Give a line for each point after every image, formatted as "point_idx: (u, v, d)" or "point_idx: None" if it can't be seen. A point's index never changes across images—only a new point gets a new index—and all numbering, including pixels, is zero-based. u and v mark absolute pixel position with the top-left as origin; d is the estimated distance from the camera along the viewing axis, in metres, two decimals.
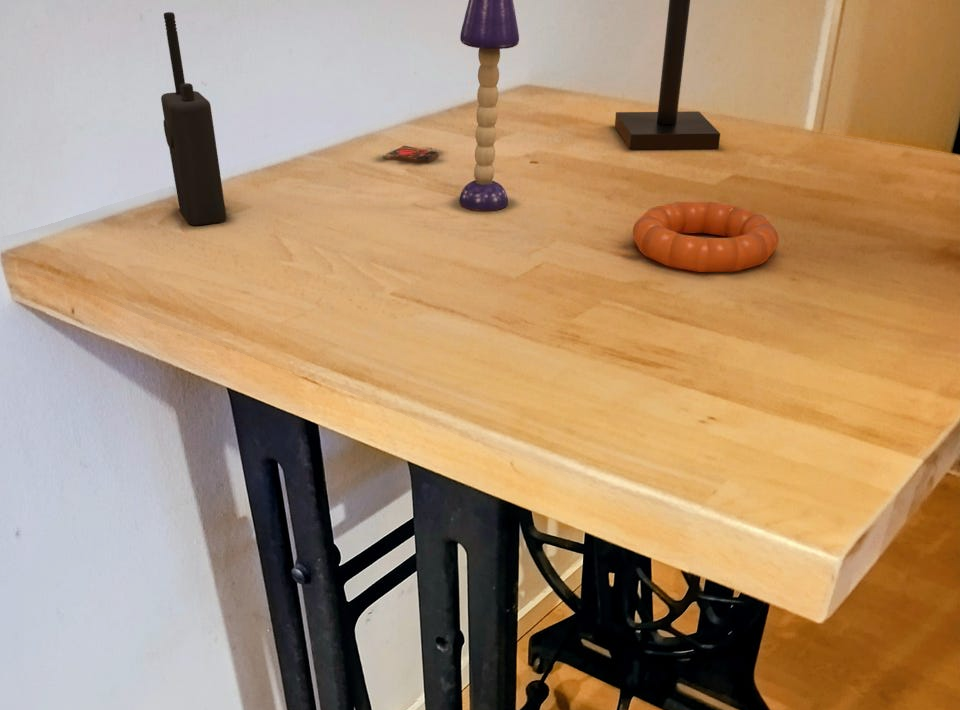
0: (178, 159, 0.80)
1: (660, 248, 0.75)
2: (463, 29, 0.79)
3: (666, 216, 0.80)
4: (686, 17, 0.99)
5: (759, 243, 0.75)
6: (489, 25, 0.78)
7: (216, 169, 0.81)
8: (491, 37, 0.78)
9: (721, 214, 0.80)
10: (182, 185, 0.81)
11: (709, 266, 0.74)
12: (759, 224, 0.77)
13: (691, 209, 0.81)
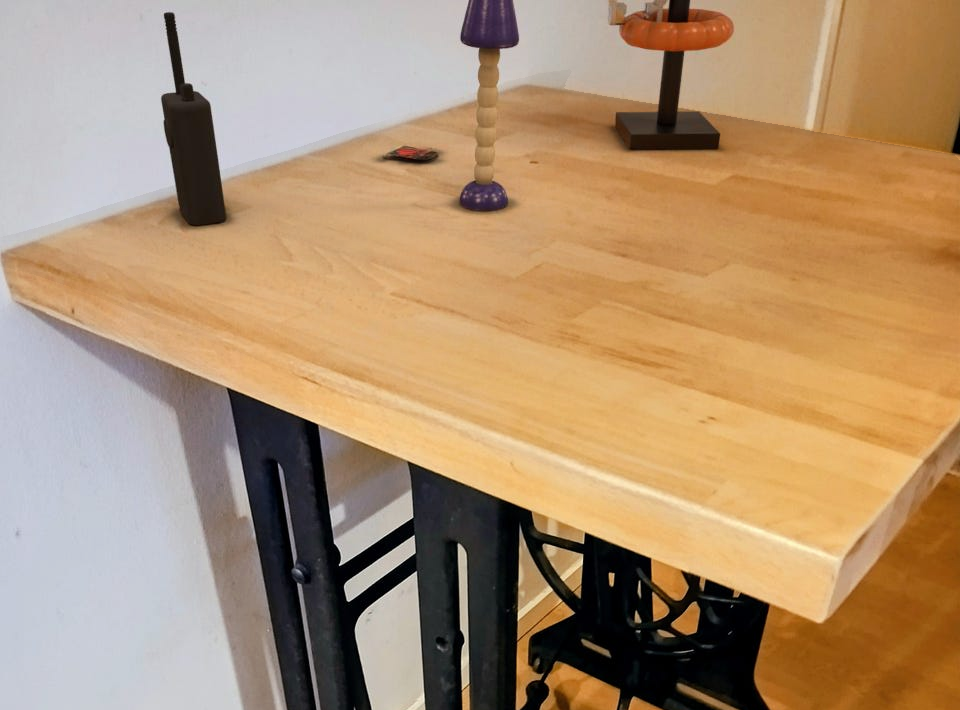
0: (178, 159, 0.80)
1: (640, 33, 0.97)
2: (463, 29, 0.79)
3: None
4: (686, 17, 0.99)
5: (717, 26, 0.96)
6: (489, 25, 0.78)
7: (216, 169, 0.81)
8: (491, 37, 0.78)
9: (689, 15, 1.02)
10: (182, 185, 0.81)
11: (678, 44, 0.96)
12: (718, 16, 0.98)
13: (665, 13, 1.02)
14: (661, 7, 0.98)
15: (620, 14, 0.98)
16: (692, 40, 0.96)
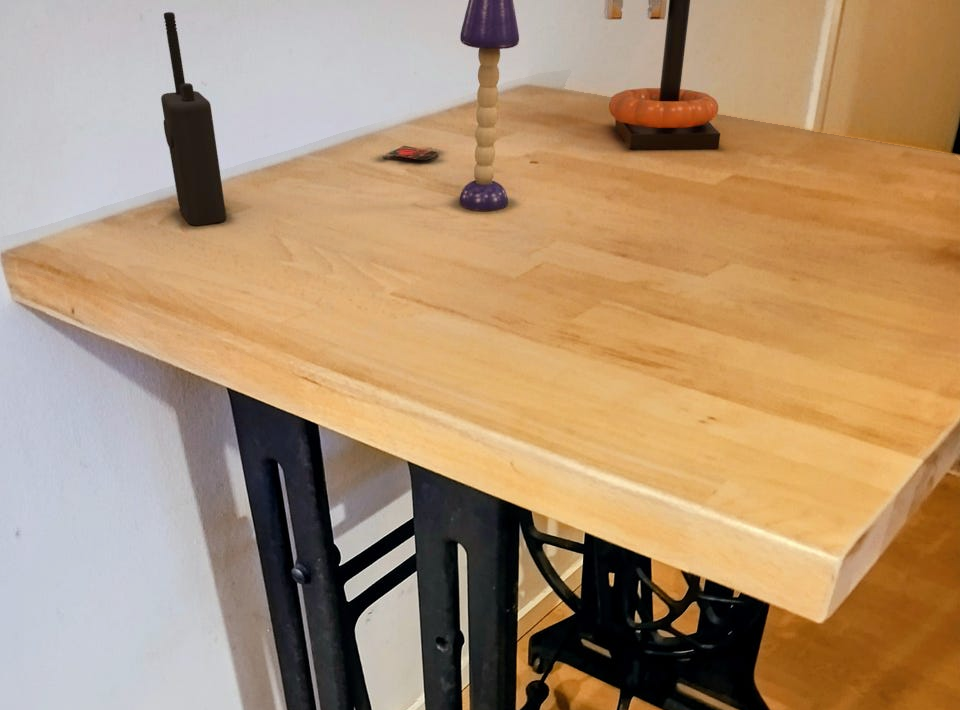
0: (178, 159, 0.80)
1: (628, 110, 1.01)
2: (463, 29, 0.79)
3: (634, 95, 1.05)
4: (686, 17, 0.99)
5: (702, 105, 1.00)
6: (489, 25, 0.78)
7: (216, 169, 0.81)
8: (491, 37, 0.78)
9: None
10: (182, 185, 0.81)
11: (664, 121, 1.00)
12: (703, 96, 1.03)
13: (653, 92, 1.06)
14: (665, 1, 0.98)
15: (617, 8, 0.98)
16: (678, 118, 1.00)
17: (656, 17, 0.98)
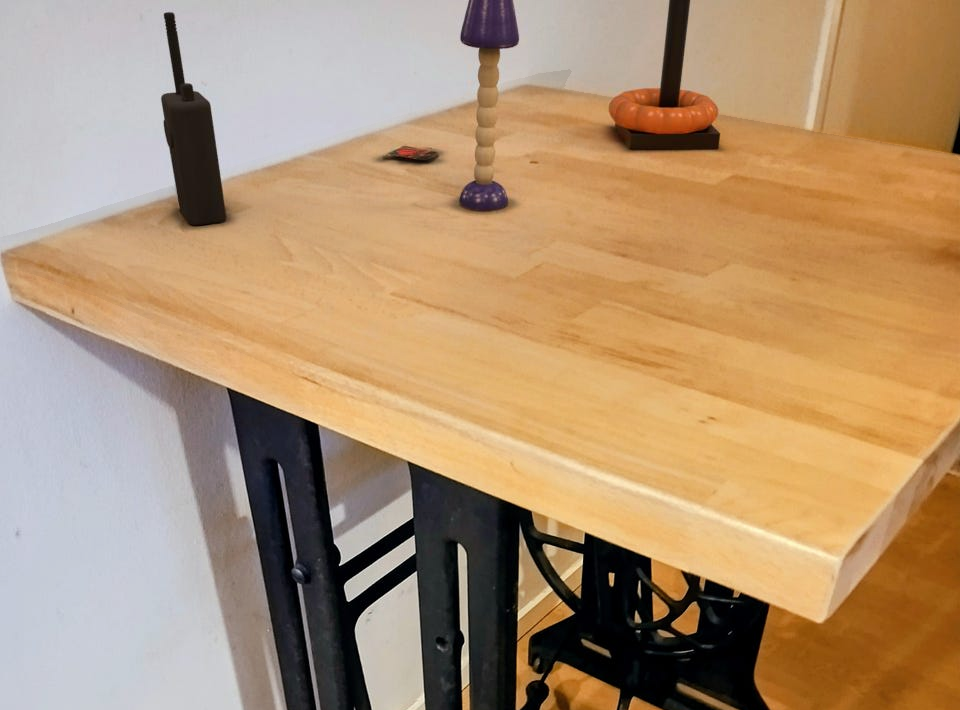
0: (178, 159, 0.80)
1: (628, 116, 1.01)
2: (463, 29, 0.79)
3: (634, 97, 1.05)
4: (686, 17, 0.99)
5: (702, 111, 1.00)
6: (489, 25, 0.78)
7: (216, 169, 0.81)
8: (491, 37, 0.78)
9: None
10: (182, 185, 0.81)
11: (664, 128, 1.00)
12: (703, 100, 1.03)
13: (653, 93, 1.06)
14: None
15: None
16: (678, 125, 1.00)
17: None
